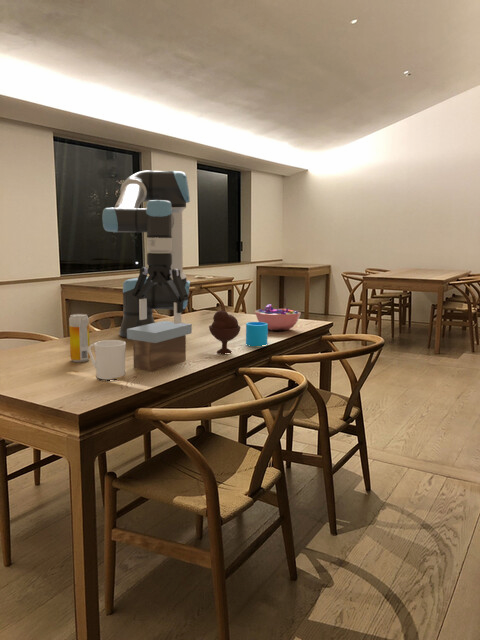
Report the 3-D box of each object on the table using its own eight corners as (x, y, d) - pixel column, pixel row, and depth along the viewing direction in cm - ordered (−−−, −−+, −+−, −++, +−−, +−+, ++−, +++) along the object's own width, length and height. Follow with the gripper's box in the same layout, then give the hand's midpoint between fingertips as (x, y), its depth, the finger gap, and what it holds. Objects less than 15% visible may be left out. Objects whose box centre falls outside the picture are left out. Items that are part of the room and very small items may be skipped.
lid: (127, 341, 162) (126, 328, 162) (164, 332, 178) (164, 320, 177) (155, 346, 157) (155, 333, 156) (191, 336, 172) (191, 324, 171)
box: (133, 371, 163) (133, 339, 162) (168, 360, 178) (168, 330, 176) (151, 374, 160) (151, 342, 158) (185, 363, 174) (185, 332, 173)
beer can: (82, 357, 180) (81, 313, 177) (93, 360, 176) (92, 315, 173) (66, 360, 175) (65, 315, 173) (77, 363, 171) (76, 317, 169)
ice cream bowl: (213, 357, 183) (213, 313, 180) (206, 349, 193) (206, 308, 191) (243, 355, 186) (243, 312, 183) (234, 348, 196) (235, 308, 194)
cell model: (299, 335, 223) (300, 308, 221) (251, 332, 226) (252, 306, 224) (301, 327, 240) (302, 302, 238) (256, 325, 243) (257, 301, 241)
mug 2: (260, 348, 198) (260, 326, 196) (241, 345, 202) (242, 324, 201) (276, 342, 208) (276, 321, 206) (257, 340, 212) (258, 319, 211)
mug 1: (129, 373, 161) (128, 340, 159) (123, 382, 152) (122, 346, 150) (92, 373, 160) (91, 339, 159) (84, 381, 152) (83, 346, 150)
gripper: (120, 251, 166) (121, 319, 169) (185, 253, 153) (185, 327, 157) (136, 250, 172) (137, 316, 175) (200, 253, 160) (200, 323, 163)
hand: (160, 321), depth 166 cm, fingers open, 13 cm apart
